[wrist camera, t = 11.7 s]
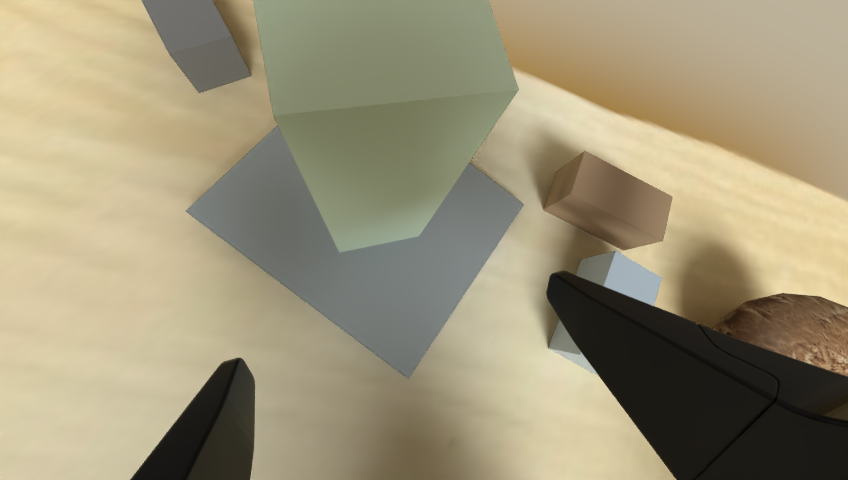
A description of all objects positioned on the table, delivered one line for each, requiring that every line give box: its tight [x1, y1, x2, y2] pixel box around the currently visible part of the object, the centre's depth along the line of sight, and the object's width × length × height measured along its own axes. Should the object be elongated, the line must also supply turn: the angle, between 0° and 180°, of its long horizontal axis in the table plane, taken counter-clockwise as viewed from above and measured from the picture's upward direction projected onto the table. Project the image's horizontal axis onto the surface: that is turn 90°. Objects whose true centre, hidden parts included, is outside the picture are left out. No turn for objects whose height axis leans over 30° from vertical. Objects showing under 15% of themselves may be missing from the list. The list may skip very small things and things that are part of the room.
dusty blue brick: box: [549, 251, 662, 374], centre depth 18 cm, size 6×3×3 cm, turn 151°
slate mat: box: [186, 125, 524, 378], centre depth 18 cm, size 14×12×1 cm
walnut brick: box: [543, 151, 672, 250], centre depth 19 cm, size 6×3×3 cm, turn 65°
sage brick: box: [253, 0, 519, 253], centre depth 12 cm, size 4×4×12 cm
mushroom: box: [713, 293, 848, 376], centre depth 18 cm, size 8×8×6 cm
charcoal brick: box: [142, 0, 251, 93], centre depth 17 cm, size 6×3×3 cm, turn 30°
